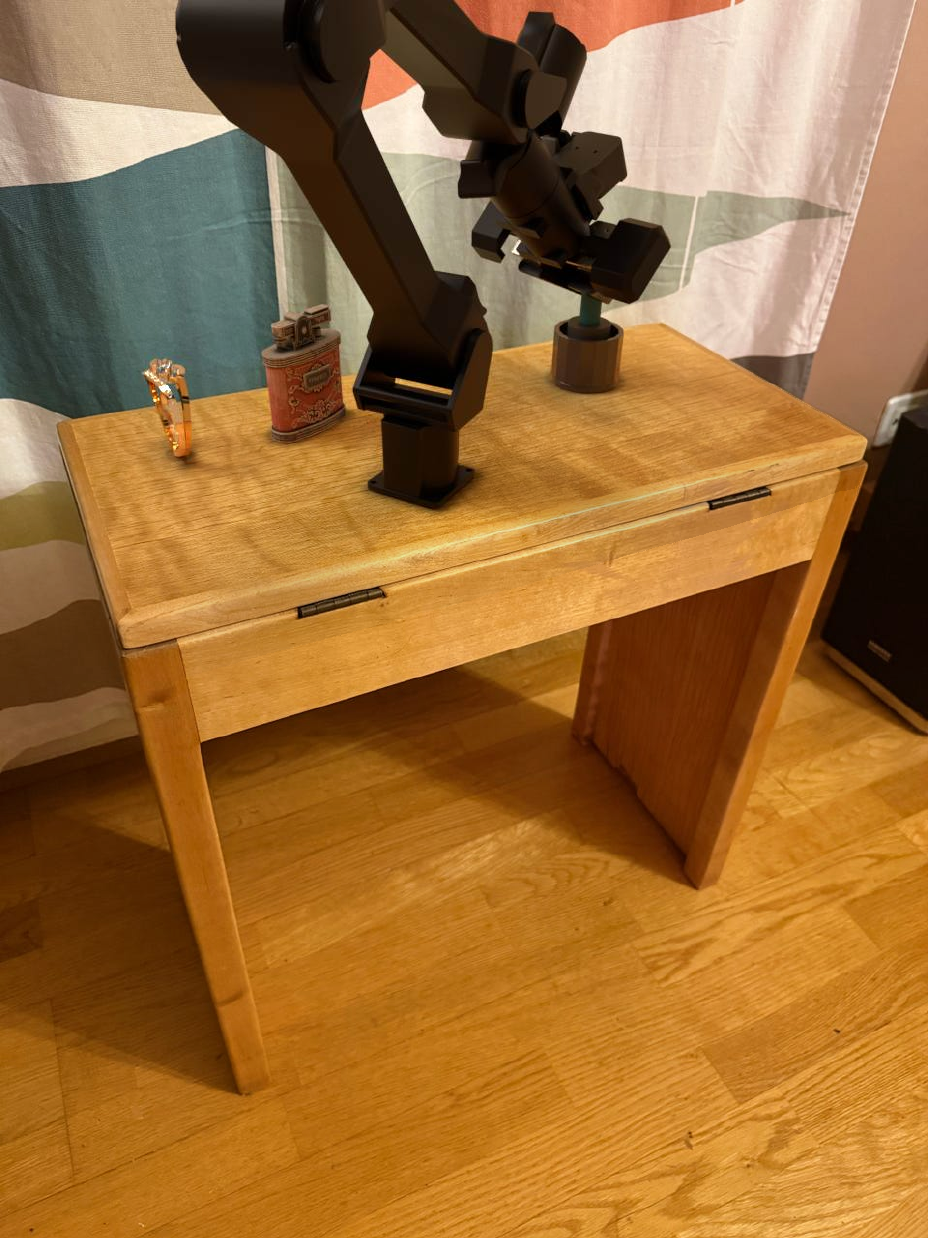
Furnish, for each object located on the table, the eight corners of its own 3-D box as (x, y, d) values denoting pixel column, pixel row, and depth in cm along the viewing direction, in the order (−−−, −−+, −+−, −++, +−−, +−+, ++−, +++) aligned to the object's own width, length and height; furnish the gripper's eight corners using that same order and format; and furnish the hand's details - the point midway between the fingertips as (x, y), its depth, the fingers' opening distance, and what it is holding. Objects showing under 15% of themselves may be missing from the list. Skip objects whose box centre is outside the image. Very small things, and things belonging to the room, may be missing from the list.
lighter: (290, 446, 78) (277, 330, 72) (262, 435, 79) (247, 321, 73) (354, 415, 83) (347, 304, 77) (327, 405, 84) (318, 296, 78)
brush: (596, 378, 87) (610, 247, 80) (557, 370, 89) (568, 240, 81) (611, 364, 90) (626, 236, 83) (574, 357, 91) (585, 230, 84)
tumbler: (602, 398, 86) (608, 346, 83) (539, 384, 89) (542, 333, 86) (627, 374, 91) (633, 325, 88) (566, 361, 94) (570, 313, 91)
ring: (151, 441, 78) (131, 349, 73) (189, 433, 79) (172, 343, 74) (169, 476, 73) (149, 381, 68) (209, 468, 74) (192, 374, 70)
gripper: (675, 113, 68) (731, 243, 80) (497, 85, 78) (572, 204, 91) (595, 244, 68) (663, 352, 81) (429, 198, 79) (513, 300, 91)
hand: (601, 296), depth 86 cm, fingers closed on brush, 2 cm apart
